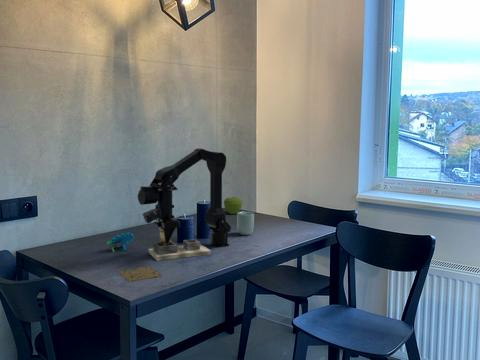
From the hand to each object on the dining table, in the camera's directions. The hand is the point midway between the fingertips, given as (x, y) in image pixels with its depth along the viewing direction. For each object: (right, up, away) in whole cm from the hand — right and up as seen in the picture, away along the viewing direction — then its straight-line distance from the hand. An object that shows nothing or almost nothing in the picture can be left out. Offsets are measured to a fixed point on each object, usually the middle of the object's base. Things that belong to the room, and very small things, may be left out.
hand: (165, 241), depth 189 cm
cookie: (-5, -9, -23) cm, 25 cm away
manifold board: (+5, -5, +3) cm, 8 cm away
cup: (+32, -2, +37) cm, 49 cm away
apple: (+25, +5, +86) cm, 90 cm away
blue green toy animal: (-19, -5, +8) cm, 22 cm away
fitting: (0, -3, 0) cm, 3 cm away
